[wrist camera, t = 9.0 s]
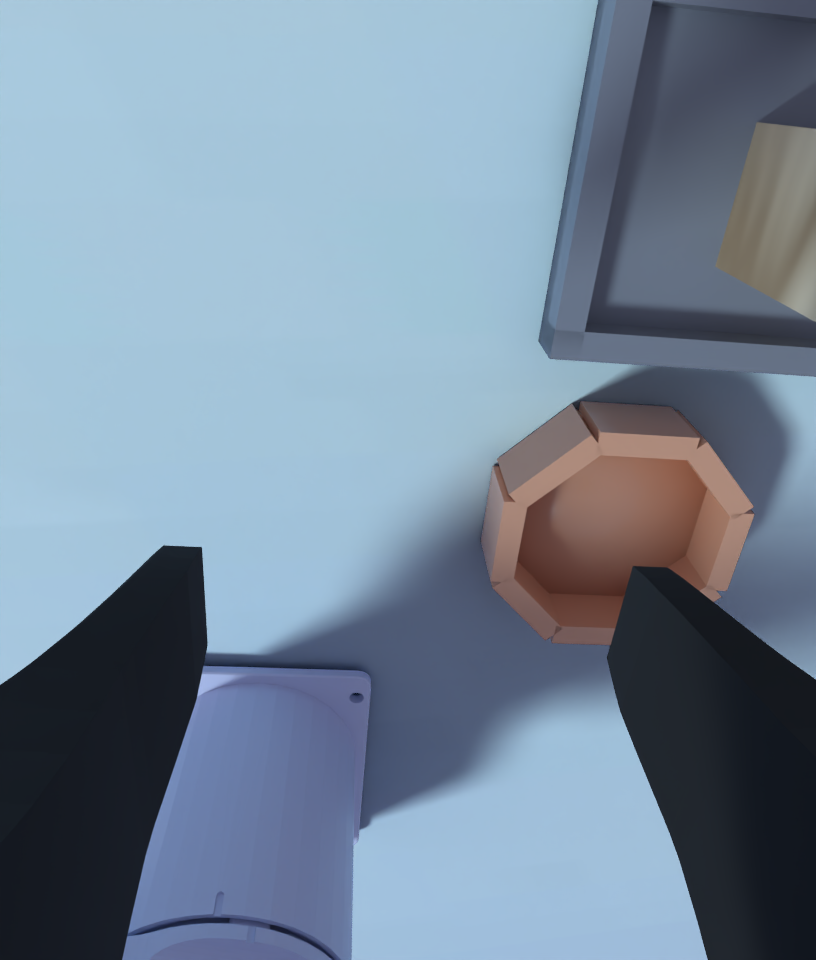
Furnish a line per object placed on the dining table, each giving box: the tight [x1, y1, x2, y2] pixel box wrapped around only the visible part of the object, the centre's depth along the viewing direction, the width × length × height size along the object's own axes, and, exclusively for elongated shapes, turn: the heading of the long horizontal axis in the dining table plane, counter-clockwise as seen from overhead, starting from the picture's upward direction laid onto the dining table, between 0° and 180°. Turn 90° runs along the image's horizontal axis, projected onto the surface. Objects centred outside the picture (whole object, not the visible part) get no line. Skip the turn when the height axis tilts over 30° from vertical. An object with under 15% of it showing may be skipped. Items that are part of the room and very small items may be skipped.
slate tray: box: [539, 0, 816, 377], centre depth 19 cm, size 9×12×2 cm
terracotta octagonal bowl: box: [481, 401, 755, 645], centre depth 23 cm, size 8×8×2 cm
